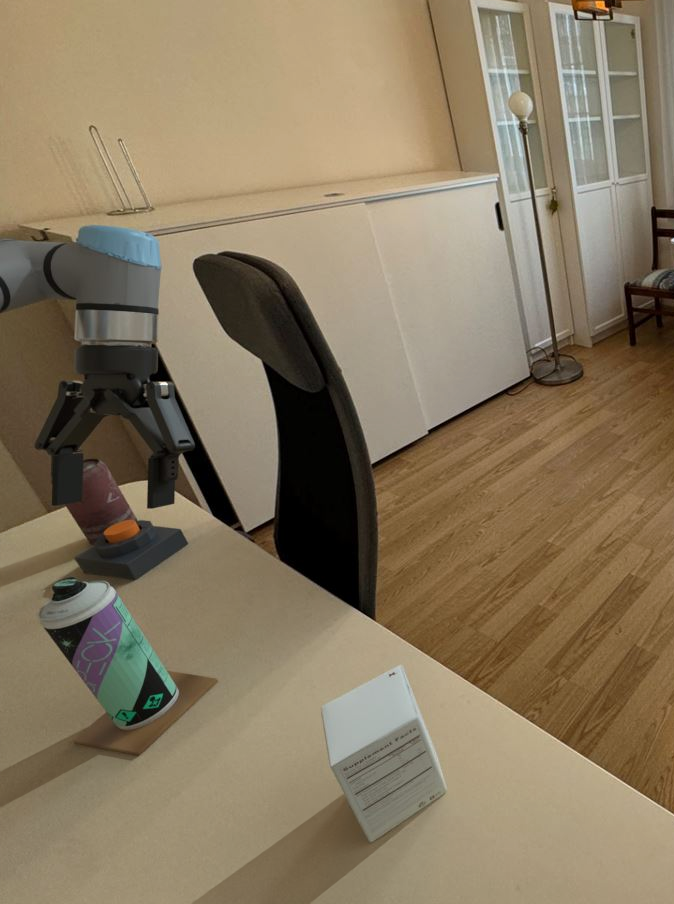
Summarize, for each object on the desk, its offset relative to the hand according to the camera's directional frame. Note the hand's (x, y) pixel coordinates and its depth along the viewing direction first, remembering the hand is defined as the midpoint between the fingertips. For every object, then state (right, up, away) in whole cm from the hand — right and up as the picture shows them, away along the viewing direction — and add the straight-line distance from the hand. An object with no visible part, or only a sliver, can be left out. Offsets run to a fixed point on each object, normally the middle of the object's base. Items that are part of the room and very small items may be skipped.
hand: (113, 505), depth 73 cm
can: (-23, -11, +22) cm, 34 cm away
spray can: (+12, -23, -7) cm, 27 cm away
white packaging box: (+47, -26, -15) cm, 56 cm away
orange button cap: (-14, -9, +14) cm, 22 cm away
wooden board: (+12, -23, -7) cm, 27 cm away
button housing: (-14, -13, +16) cm, 25 cm away
